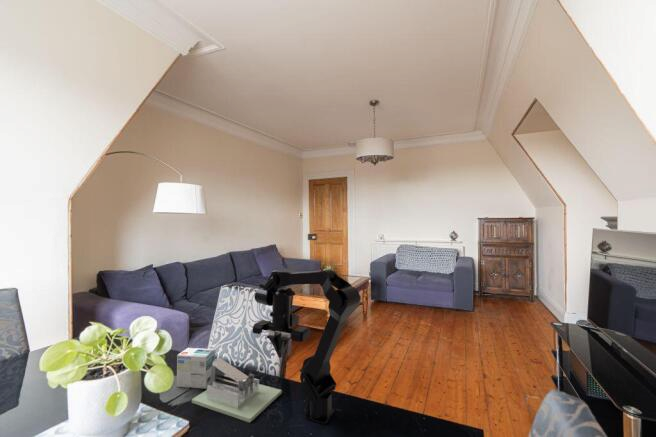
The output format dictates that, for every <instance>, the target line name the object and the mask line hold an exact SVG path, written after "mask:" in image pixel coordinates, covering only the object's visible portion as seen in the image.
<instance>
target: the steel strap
mask: <svg viewBox="0 0 656 437" xmlns="http://www.w3.org/2000/svg"><path fill="white" fill-rule="evenodd" d="M212 365H213V366H215V367H216V368H217V369H219V370H220V371H222V372H223V373H224V375H228V376H229V377H231V378H232V379H233V380H235V381H236V382H238V383H239V381H240V380H241V381H244V387H245V386H247V385H248V384H250V383H251V382H252V379H251V377H249V375H247V374H245V373H243V372H242V371H241V370H239V369H238V368H237V367H235V366H234V365H232V364H230V363H228V362H227V360H224V359H223V358H221V357H219V358H217V359H216V358H215V361H213V363H212Z"/></svg>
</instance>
